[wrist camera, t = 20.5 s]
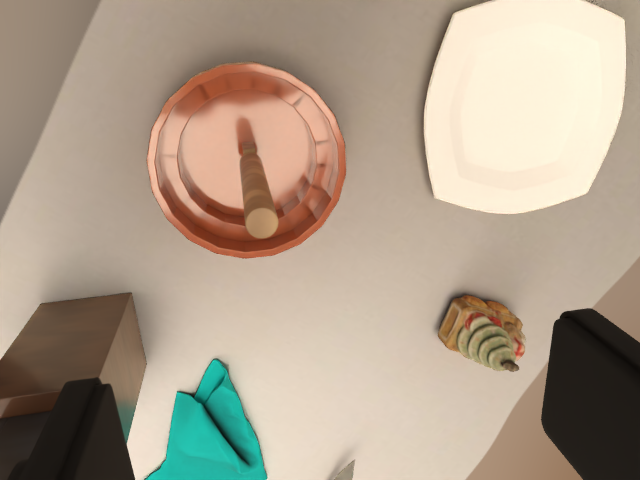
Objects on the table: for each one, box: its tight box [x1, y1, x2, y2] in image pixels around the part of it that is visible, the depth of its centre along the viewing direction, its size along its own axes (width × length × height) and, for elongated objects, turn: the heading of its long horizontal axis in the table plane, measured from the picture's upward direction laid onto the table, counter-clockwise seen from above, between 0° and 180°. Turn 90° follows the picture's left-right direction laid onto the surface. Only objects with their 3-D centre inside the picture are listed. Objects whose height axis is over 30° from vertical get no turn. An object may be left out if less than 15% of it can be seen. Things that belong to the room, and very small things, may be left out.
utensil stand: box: [0, 293, 147, 480], centre depth 38 cm, size 8×8×23 cm
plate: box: [424, 0, 626, 214], centre depth 46 cm, size 19×19×2 cm
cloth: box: [145, 360, 267, 480], centre depth 55 cm, size 26×14×2 cm, turn 151°
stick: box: [239, 142, 278, 238], centre depth 36 cm, size 2×2×18 cm
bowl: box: [147, 61, 346, 259], centre depth 42 cm, size 15×15×6 cm
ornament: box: [438, 295, 526, 372], centre depth 50 cm, size 8×6×10 cm
